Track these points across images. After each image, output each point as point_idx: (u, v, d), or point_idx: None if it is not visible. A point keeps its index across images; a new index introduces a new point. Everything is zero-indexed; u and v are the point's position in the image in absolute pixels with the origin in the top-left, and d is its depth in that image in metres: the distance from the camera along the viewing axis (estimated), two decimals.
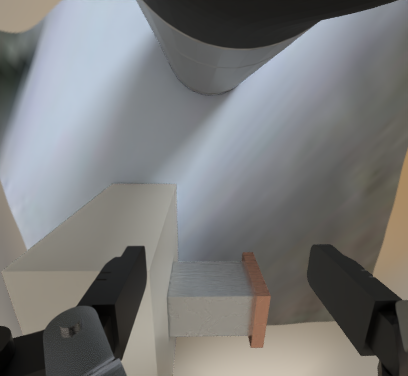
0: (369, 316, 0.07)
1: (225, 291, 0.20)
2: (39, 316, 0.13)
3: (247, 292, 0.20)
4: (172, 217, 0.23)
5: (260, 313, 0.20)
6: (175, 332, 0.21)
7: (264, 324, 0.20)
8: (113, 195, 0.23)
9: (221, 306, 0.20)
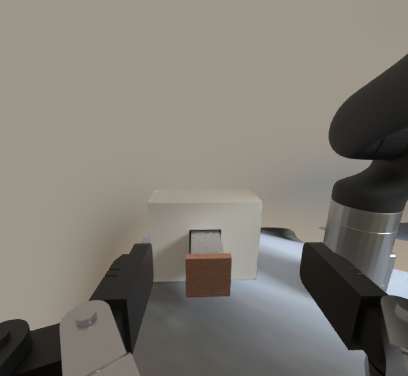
0: (356, 311, 0.07)
1: None
2: (236, 191, 0.44)
3: None
4: (246, 257, 0.40)
5: (216, 255, 0.30)
6: (194, 233, 0.38)
7: (207, 257, 0.29)
8: None
9: (215, 246, 0.34)
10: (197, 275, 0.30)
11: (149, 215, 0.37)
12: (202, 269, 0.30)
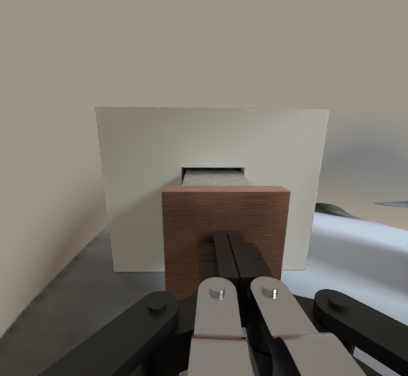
0: (240, 292, 0.08)
1: None
2: None
3: None
4: (290, 226, 0.21)
5: (246, 188, 0.11)
6: (191, 172, 0.19)
7: (222, 190, 0.11)
8: None
9: (237, 184, 0.15)
10: (195, 241, 0.11)
11: (101, 134, 0.18)
12: (208, 225, 0.11)
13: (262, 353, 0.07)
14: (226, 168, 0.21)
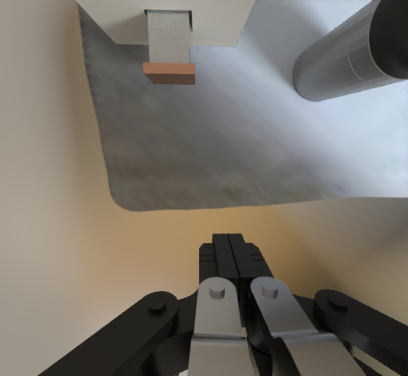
0: (240, 291, 0.08)
1: (189, 43, 0.27)
2: None
3: (189, 61, 0.28)
4: (226, 33, 0.31)
5: (178, 67, 0.27)
6: None
7: (167, 72, 0.27)
8: None
9: (179, 38, 0.27)
10: (160, 78, 0.29)
11: None
12: (164, 76, 0.29)
13: (262, 353, 0.07)
14: None
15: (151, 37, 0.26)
